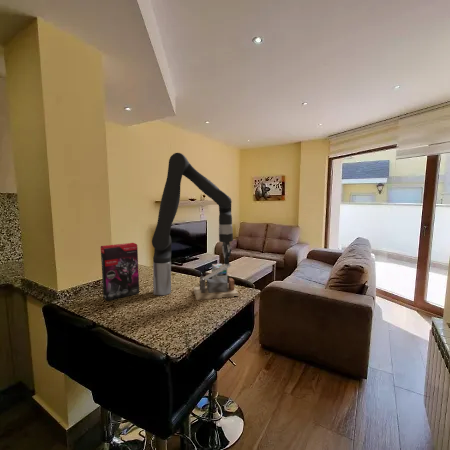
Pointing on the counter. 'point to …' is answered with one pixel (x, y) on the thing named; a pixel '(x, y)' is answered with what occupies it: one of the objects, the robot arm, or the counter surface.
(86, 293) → the counter surface
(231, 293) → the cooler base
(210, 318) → the counter surface
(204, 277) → the strap
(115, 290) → the graphics card box
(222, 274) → the light bulb box
